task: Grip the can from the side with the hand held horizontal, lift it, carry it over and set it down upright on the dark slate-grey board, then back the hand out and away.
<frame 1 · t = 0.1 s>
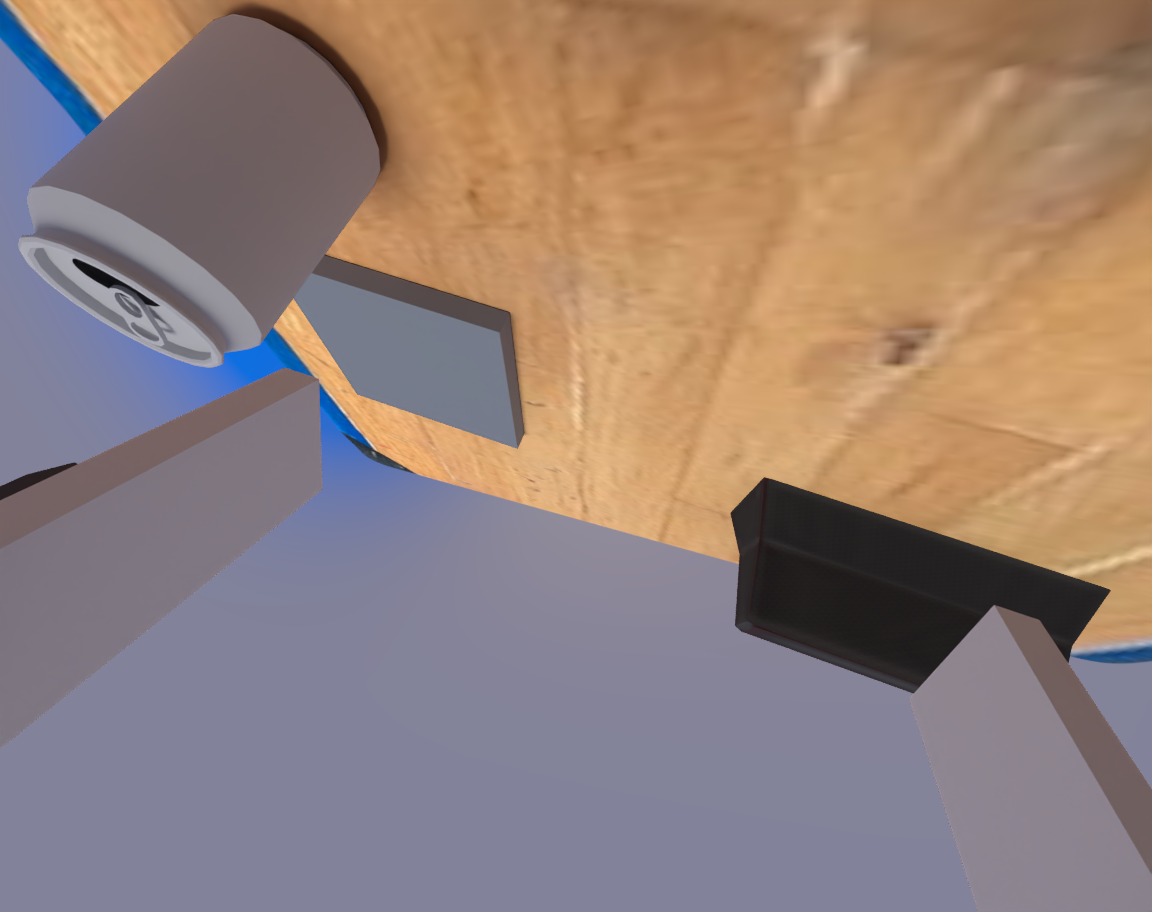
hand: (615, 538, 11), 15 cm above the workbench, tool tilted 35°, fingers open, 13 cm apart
barrier: (897, 541, 41), on the workbench
can: (309, 102, 23), on the workbench
slate board: (422, 353, 40), on the workbench
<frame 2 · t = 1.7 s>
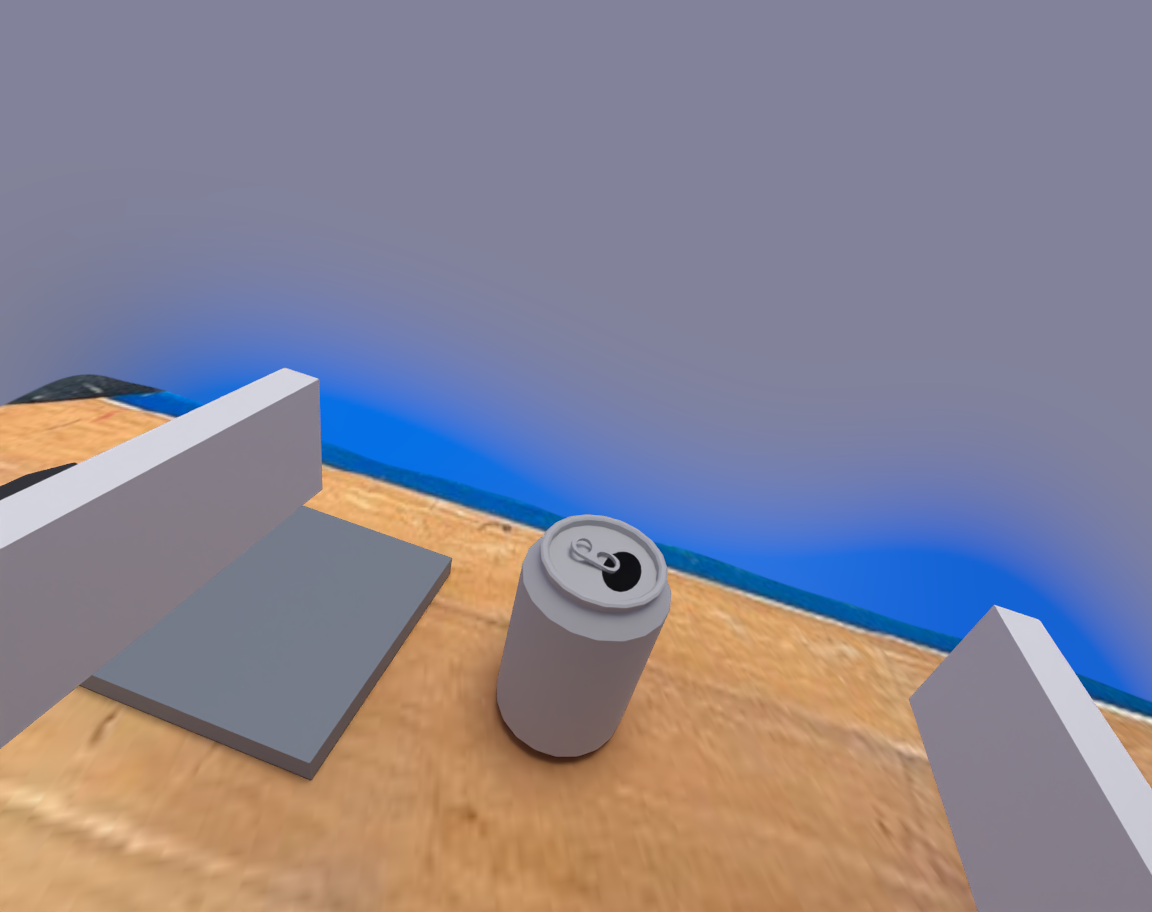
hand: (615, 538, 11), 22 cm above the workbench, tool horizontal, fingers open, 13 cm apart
can: (556, 703, 32), on the workbench
slate board: (274, 611, 33), on the workbench
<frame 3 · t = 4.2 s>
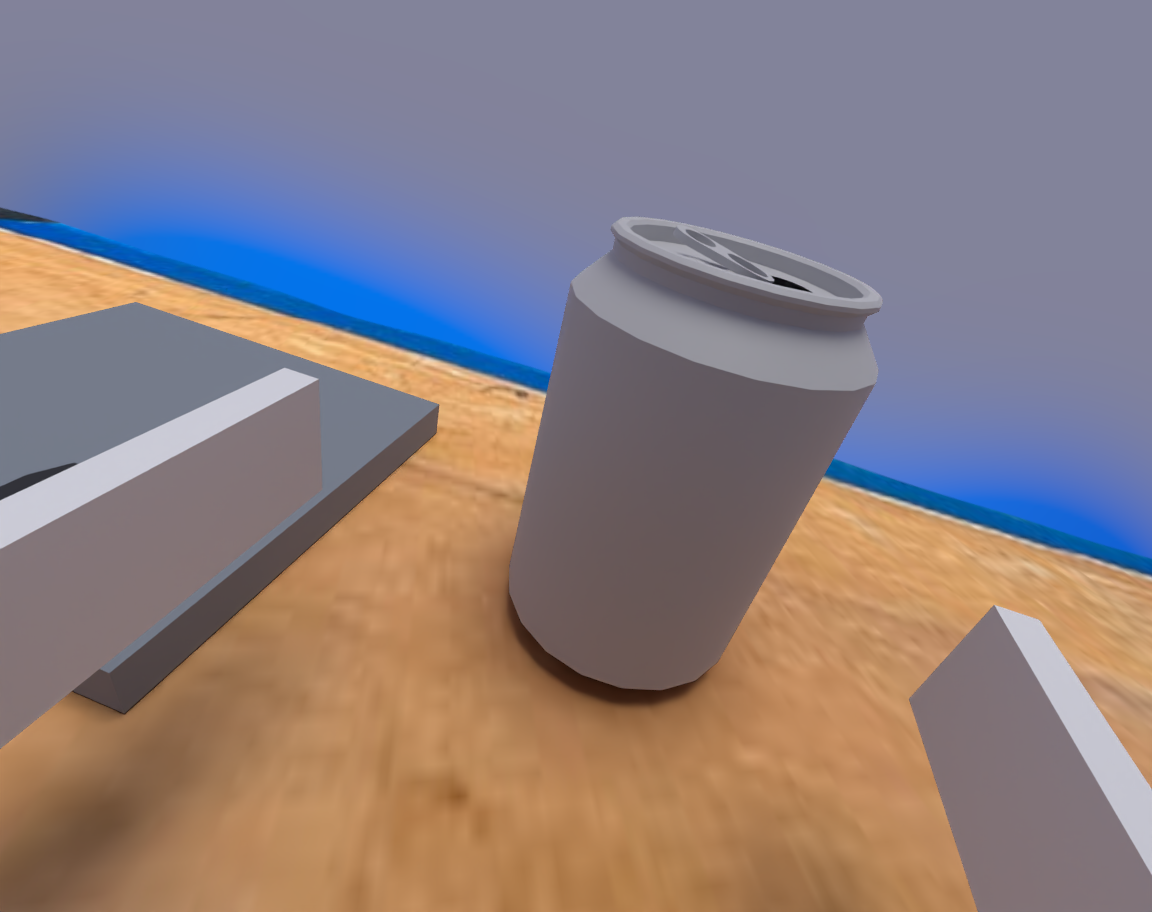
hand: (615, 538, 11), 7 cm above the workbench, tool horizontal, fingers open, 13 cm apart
can: (611, 610, 19), on the workbench
slate board: (136, 452, 20), on the workbench
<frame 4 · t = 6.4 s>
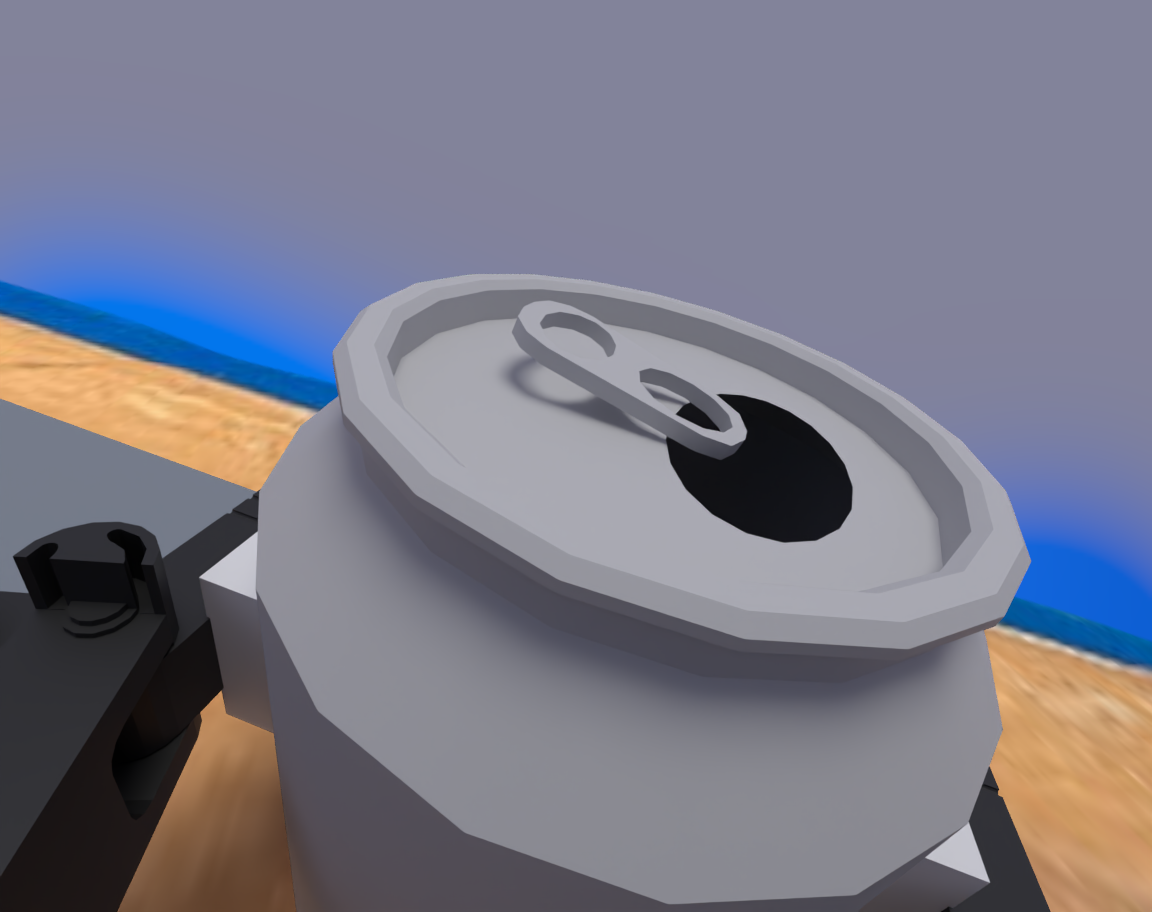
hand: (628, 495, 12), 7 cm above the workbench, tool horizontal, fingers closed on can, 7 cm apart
can: (500, 882, 12), on the workbench, touching gripper
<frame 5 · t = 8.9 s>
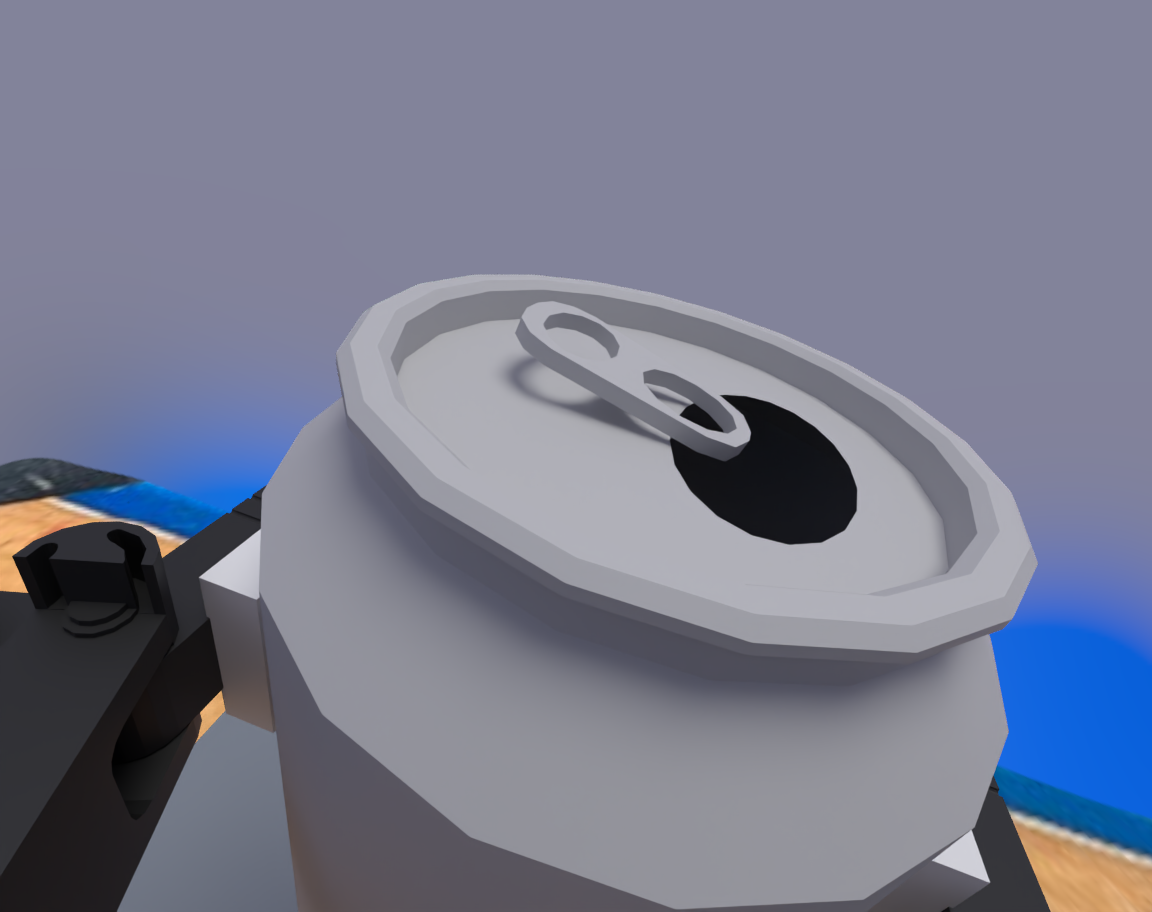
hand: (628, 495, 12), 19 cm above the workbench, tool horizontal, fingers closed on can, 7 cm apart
can: (501, 884, 12), point 12 cm above the workbench, touching gripper
when the fingers open (10 cm above the workbench, at t = 11.6 s): can drops 1 cm, resting on slate board.
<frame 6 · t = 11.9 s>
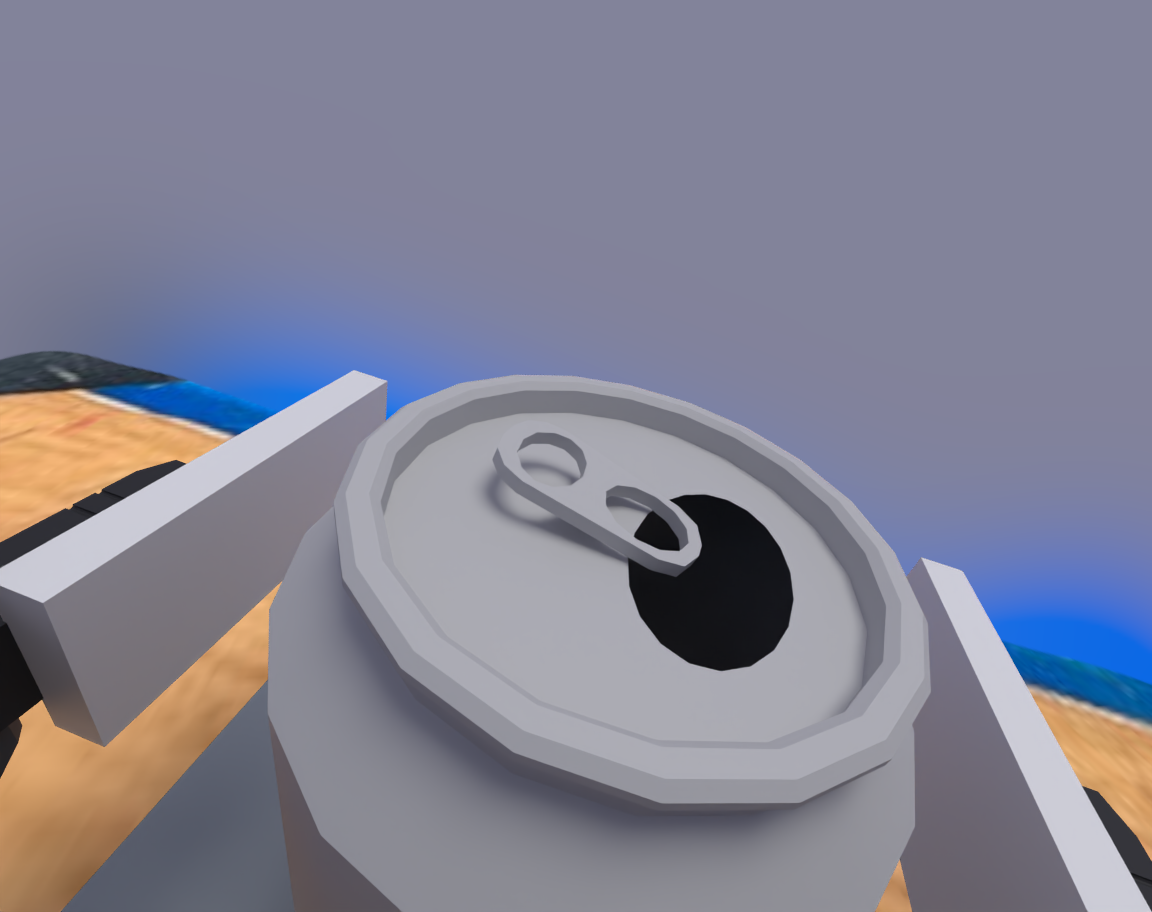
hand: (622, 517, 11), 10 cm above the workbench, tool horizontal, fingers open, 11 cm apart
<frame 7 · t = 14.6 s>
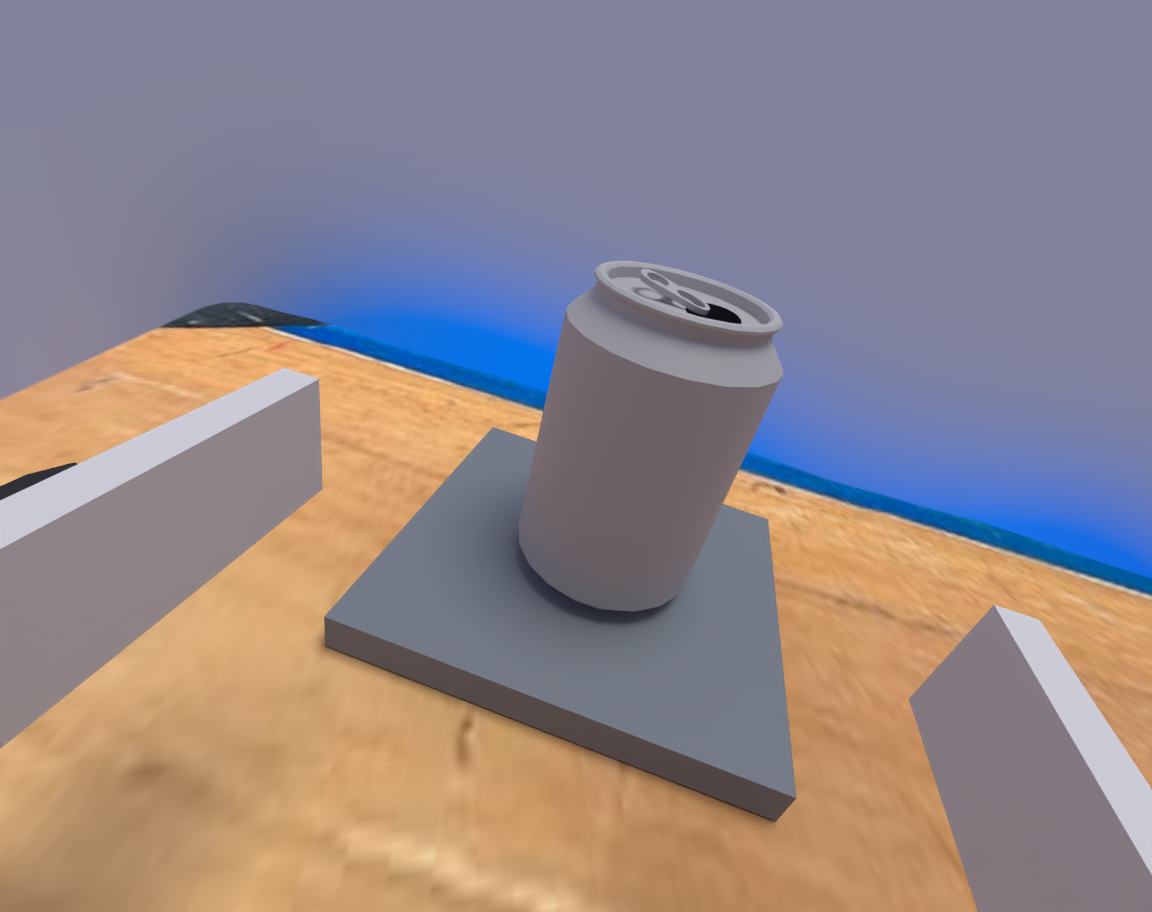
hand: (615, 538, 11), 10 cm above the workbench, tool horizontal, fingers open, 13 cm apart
can: (598, 560, 24), point 1 cm above the workbench, touching slate board
slate board: (590, 580, 24), on the workbench
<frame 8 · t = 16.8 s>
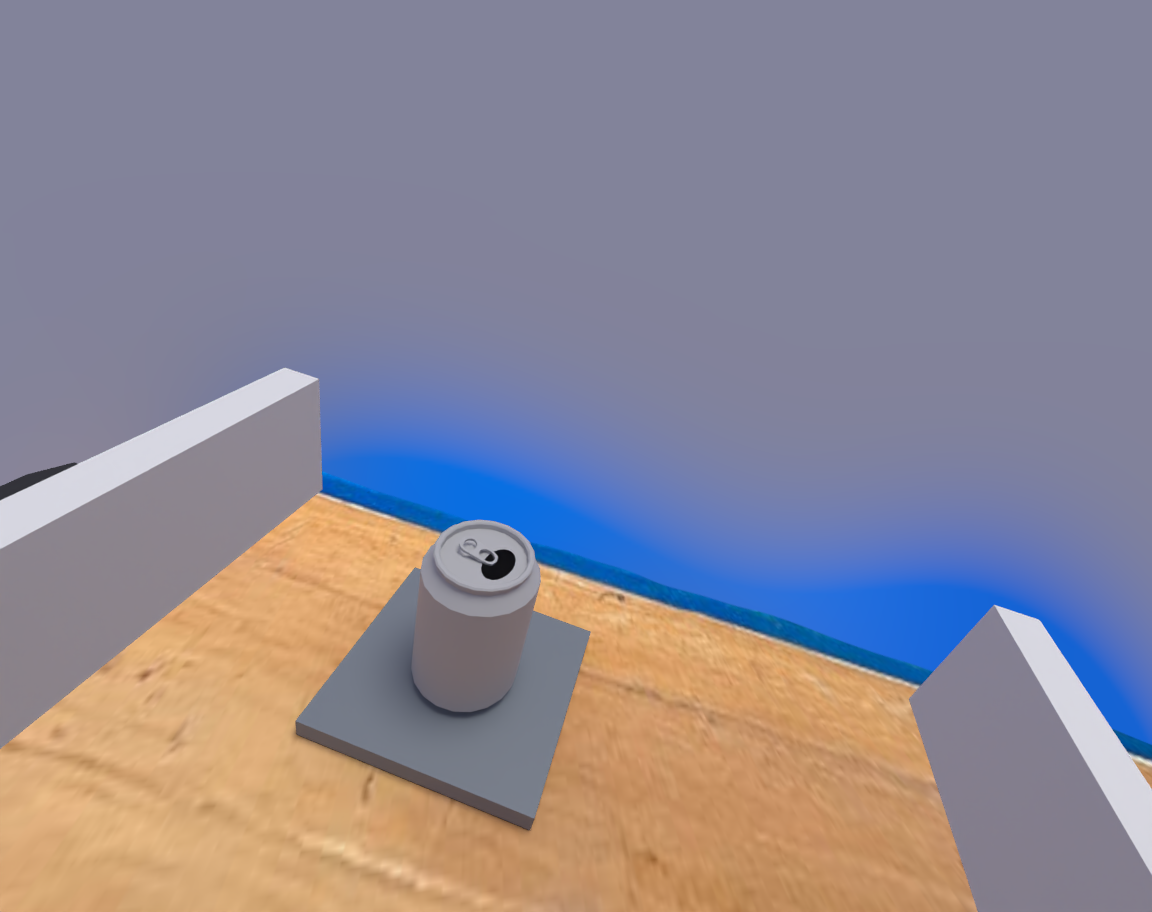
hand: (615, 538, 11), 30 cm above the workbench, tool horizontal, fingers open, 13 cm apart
can: (463, 672, 39), point 1 cm above the workbench, touching slate board
slate board: (461, 682, 40), on the workbench
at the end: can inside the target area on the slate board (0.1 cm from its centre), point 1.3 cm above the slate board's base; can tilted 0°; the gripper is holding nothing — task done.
